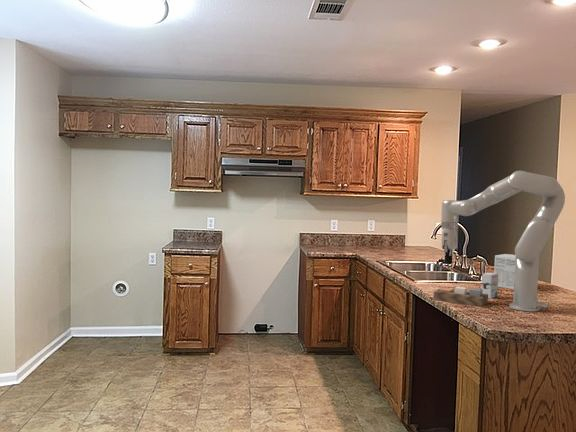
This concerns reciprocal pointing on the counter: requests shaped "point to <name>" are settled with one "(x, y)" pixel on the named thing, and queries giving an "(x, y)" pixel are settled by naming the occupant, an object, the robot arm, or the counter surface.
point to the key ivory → (460, 290)
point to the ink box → (490, 284)
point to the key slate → (476, 292)
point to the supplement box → (505, 270)
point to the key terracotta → (446, 290)
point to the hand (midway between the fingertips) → (448, 263)
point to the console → (460, 298)
